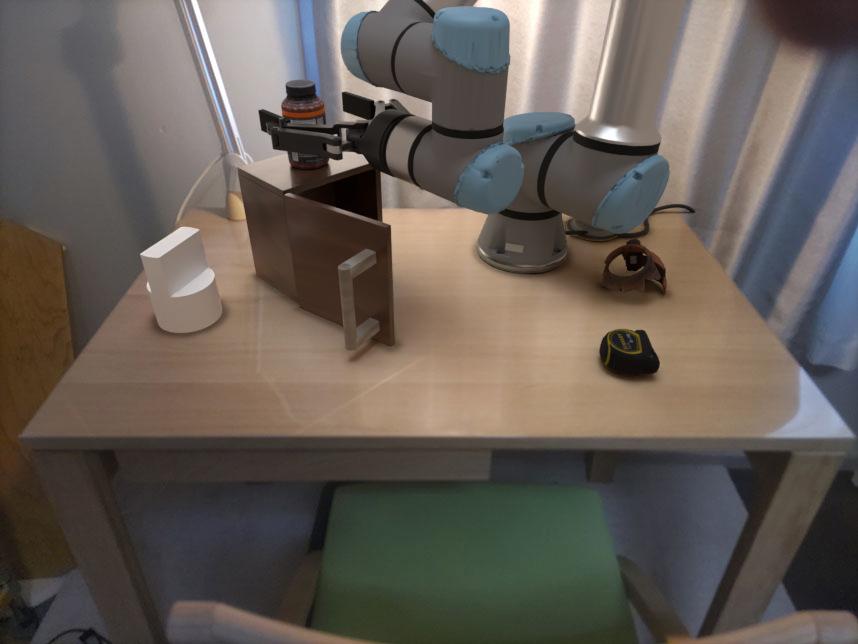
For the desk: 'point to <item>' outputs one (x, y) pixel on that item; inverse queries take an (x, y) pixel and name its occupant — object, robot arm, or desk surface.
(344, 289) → the cabinet door
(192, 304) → the base with upright slab
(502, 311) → the desk surface
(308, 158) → the supplement bottle
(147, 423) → the desk surface
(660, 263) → the brown hollow curved shell
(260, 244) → the cabinet
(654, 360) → the tape measure
